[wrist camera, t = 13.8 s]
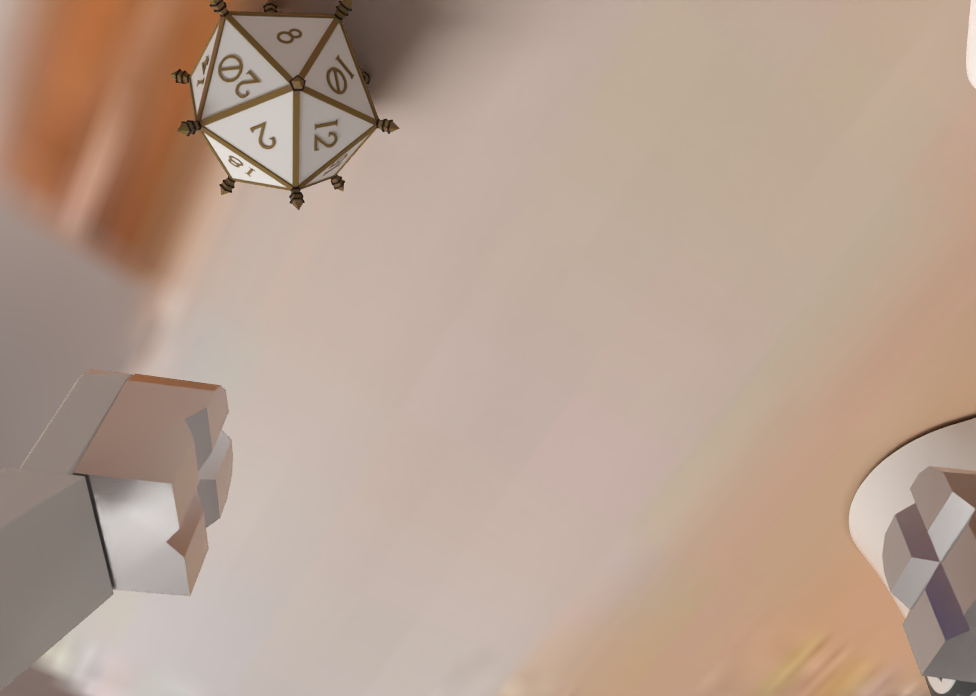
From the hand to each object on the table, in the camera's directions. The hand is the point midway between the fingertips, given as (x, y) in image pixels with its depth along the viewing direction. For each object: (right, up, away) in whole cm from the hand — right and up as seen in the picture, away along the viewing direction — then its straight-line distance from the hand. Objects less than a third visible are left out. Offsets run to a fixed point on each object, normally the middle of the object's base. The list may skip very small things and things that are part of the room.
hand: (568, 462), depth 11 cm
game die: (-9, +14, +29) cm, 34 cm away
